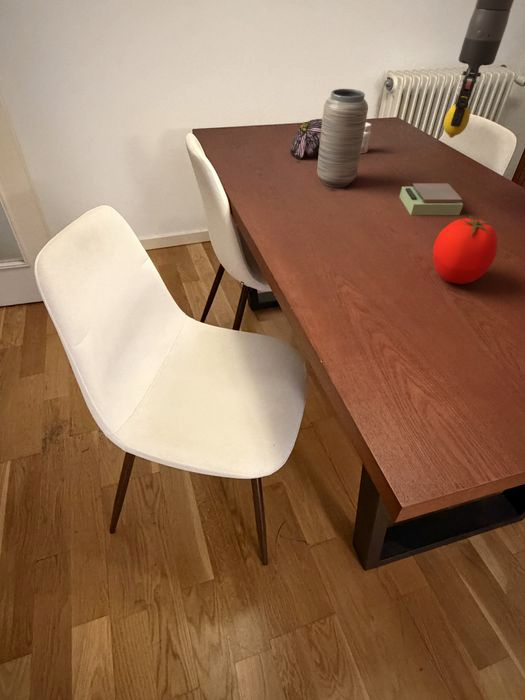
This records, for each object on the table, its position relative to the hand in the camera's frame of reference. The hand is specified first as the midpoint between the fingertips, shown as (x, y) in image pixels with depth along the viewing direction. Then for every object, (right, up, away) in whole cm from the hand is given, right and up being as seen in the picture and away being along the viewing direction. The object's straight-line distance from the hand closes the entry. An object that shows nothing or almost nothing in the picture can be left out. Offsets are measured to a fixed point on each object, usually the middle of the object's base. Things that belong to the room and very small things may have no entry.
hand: (456, 122), depth 98 cm
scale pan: (-1, -14, +9) cm, 17 cm away
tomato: (-7, -41, -13) cm, 44 cm away
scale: (-2, -17, +11) cm, 20 cm away
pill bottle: (-14, +13, +40) cm, 44 cm away
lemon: (0, -3, +3) cm, 4 cm away
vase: (-26, -6, +22) cm, 34 cm away
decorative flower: (-32, +10, +38) cm, 50 cm away
